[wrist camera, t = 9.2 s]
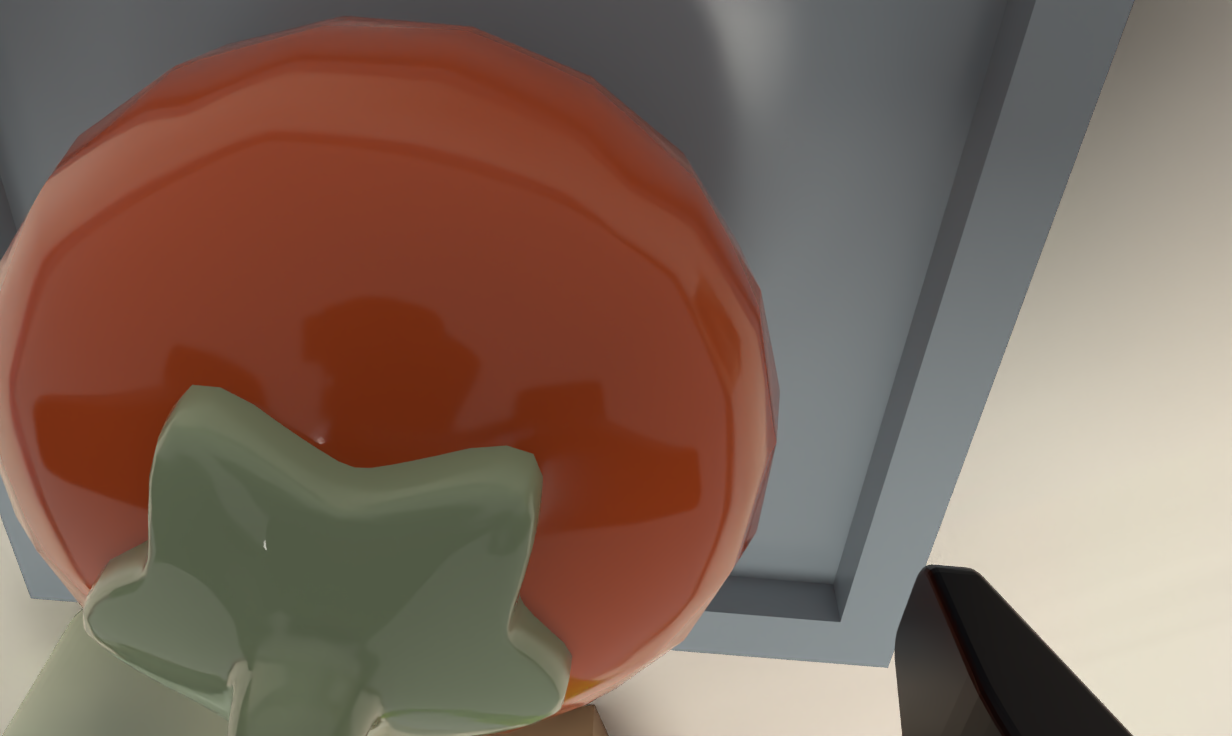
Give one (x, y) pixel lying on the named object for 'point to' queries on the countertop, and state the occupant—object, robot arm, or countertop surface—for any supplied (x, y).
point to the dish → (742, 228)
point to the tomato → (383, 384)
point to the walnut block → (565, 725)
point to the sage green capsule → (104, 698)
